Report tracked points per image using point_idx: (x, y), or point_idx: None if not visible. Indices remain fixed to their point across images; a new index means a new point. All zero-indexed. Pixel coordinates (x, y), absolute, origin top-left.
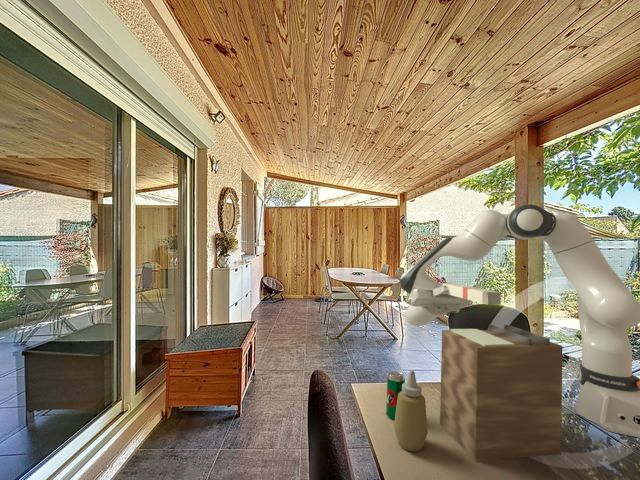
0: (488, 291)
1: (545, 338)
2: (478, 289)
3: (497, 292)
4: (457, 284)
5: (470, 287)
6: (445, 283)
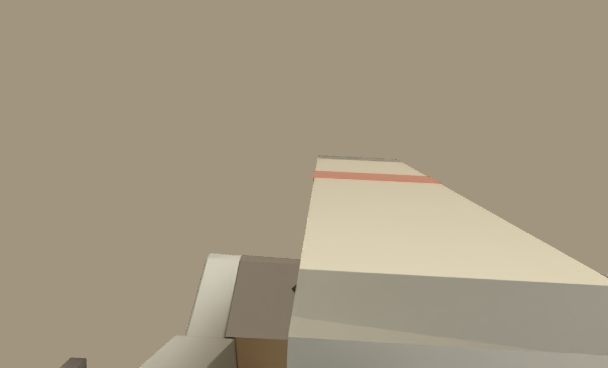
0: (361, 160)
1: (83, 362)
2: (367, 168)
3: (334, 156)
4: (323, 227)
5: (356, 179)
6: (544, 284)
